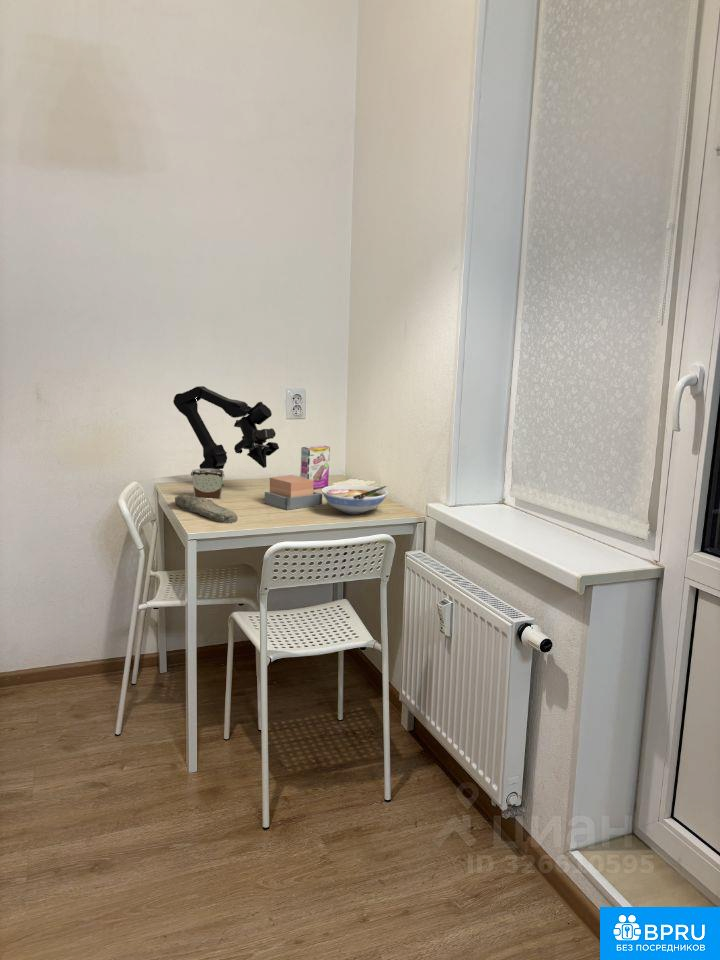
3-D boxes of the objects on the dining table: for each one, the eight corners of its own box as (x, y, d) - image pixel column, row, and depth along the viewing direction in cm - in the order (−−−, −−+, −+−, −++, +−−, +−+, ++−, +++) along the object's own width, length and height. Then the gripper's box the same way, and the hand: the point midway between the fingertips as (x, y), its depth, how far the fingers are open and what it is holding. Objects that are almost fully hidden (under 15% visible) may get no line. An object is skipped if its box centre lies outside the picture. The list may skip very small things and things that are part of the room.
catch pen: (264, 503, 274) (264, 492, 274) (299, 498, 285) (299, 487, 284) (287, 510, 265) (287, 498, 264) (322, 504, 275) (322, 493, 274)
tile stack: (269, 502, 277) (269, 477, 275) (291, 499, 283) (292, 474, 282) (290, 508, 268) (291, 483, 266) (312, 505, 275) (313, 480, 273)
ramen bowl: (340, 501, 282) (341, 479, 281) (398, 509, 272) (399, 486, 271) (306, 514, 260) (307, 490, 258) (368, 523, 250) (369, 498, 249)
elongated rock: (217, 530, 241) (245, 527, 248) (219, 513, 240) (246, 511, 247) (166, 503, 267) (192, 501, 274) (167, 488, 266) (193, 487, 273)
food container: (228, 496, 284) (228, 469, 282) (224, 499, 278) (224, 472, 276) (195, 494, 285) (195, 467, 283) (190, 497, 279) (190, 470, 277)
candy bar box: (308, 490, 299) (309, 448, 296) (299, 488, 303) (300, 446, 300) (329, 487, 307) (330, 446, 304) (320, 485, 311) (321, 444, 308)
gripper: (246, 417, 279) (262, 454, 274) (280, 422, 294) (296, 457, 289) (227, 433, 284) (241, 470, 279) (261, 437, 300) (276, 472, 295)
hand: (265, 467), depth 286 cm, fingers closed
